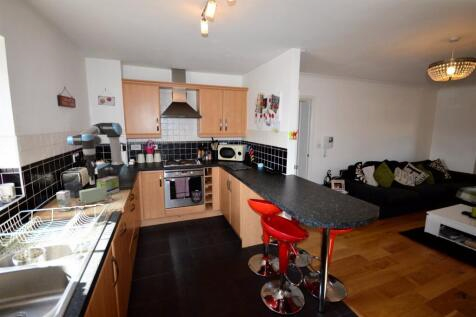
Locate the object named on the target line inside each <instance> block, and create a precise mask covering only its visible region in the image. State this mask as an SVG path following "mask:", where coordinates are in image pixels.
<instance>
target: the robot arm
mask: <svg viewBox="0 0 476 317" xmlns="http://www.w3.org/2000/svg"><path fill="white" fill-rule="evenodd" d="M101 135H102V136H106V138H108V140H109V141H108V142H109V147H110V152H111V161H112V162H111V163H110V162H104V163H99V164H98V165H97V166H96V164H95V161H94V160H97V156H96V147H95V146H98V145H101V144H102V142H103V139H102V137H101ZM122 135H123V128H122V126H121V124H120V123H118V122H98V123H95V124H93V125H90V126H89V128H87V129H86V130H84V131H82V132H80V133H78V134H76V135H70V136H69V135H68V136H67V139H66V142H67V145H69V146H74V147H76V146H82V150H81V151H82V152H83V161H86V162H85V165H86V170H87V171H86V172H87V175H88V177H89V184H90V185H95V183H96V182H95V181H96V180H95V176H96V171H97V180H98V179H101V178H105V177H109V176H114V177H118V176H124V175H127V174H126V173H127V170H128V166H127V163H125V161H123V156H122V148H121V142H120V138H121V137H122Z"/></svg>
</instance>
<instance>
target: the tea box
mask: <svg viewBox="0 0 476 317" xmlns="http://www.w3.org/2000/svg"><path fill="white" fill-rule="evenodd" d="M119 180H120V179H119V176H109V177H105V178H101V179H98V178H97V179H96V187H102V186H105V187H106V190H107V193H108V194H110V195H111V196H112V195H114V194H117V193H119V192H120V185H119V184H120V182H119Z"/></svg>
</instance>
